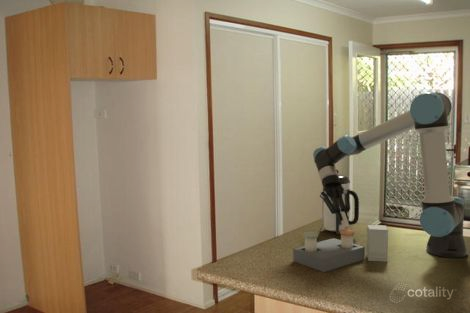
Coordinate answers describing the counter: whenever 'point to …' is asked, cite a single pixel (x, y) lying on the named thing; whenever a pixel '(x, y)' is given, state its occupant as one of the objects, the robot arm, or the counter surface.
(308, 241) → the green capped cylinder
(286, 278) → the counter surface
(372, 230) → the supplement box
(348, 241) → the orange capped cylinder
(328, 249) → the console
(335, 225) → the coffee press
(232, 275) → the counter surface
